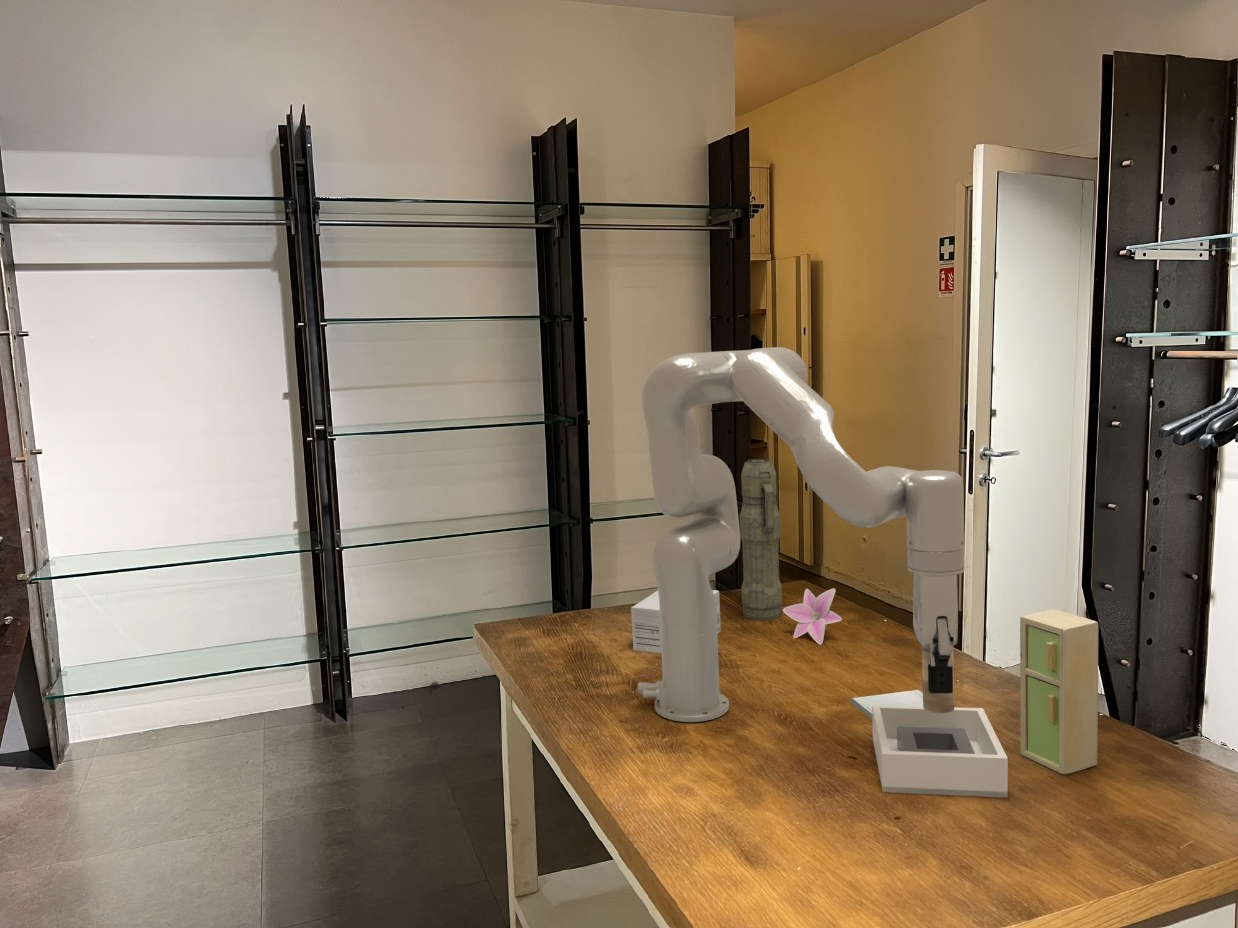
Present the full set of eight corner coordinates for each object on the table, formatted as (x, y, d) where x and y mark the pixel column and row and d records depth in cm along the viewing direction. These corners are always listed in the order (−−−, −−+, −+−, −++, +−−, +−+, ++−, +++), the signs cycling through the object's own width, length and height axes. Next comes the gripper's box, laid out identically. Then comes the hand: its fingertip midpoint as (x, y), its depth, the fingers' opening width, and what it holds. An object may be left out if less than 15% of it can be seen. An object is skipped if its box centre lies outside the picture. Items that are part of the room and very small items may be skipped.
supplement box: (665, 626, 206) (663, 585, 205) (721, 632, 200) (720, 589, 199) (631, 650, 191) (629, 606, 190) (691, 657, 185) (689, 611, 184)
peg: (925, 712, 131) (923, 643, 130) (921, 701, 135) (919, 634, 134) (956, 713, 130) (955, 643, 129) (951, 701, 134) (950, 634, 133)
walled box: (882, 791, 127) (882, 753, 127) (872, 739, 144) (872, 705, 143) (1007, 797, 124) (1007, 758, 124) (982, 743, 141) (982, 708, 140)
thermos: (758, 624, 204) (754, 465, 199) (732, 610, 215) (727, 459, 210) (793, 618, 207) (790, 461, 203) (765, 605, 218) (761, 456, 213)
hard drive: (874, 715, 150) (943, 705, 153) (850, 697, 158) (917, 687, 161) (874, 725, 151) (943, 715, 153) (850, 706, 159) (917, 696, 161)
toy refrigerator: (1014, 755, 137) (1016, 615, 134) (1051, 744, 140) (1054, 607, 137) (1059, 777, 129) (1062, 630, 127) (1097, 765, 132) (1101, 621, 130)
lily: (780, 633, 200) (771, 601, 195) (824, 606, 203) (816, 574, 198) (814, 665, 191) (806, 633, 185) (860, 636, 193) (853, 603, 188)
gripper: (901, 547, 139) (903, 666, 141) (915, 574, 123) (917, 708, 125) (954, 546, 138) (956, 666, 140) (975, 573, 121) (977, 709, 124)
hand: (938, 684), depth 132 cm, fingers closed on peg, 4 cm apart
